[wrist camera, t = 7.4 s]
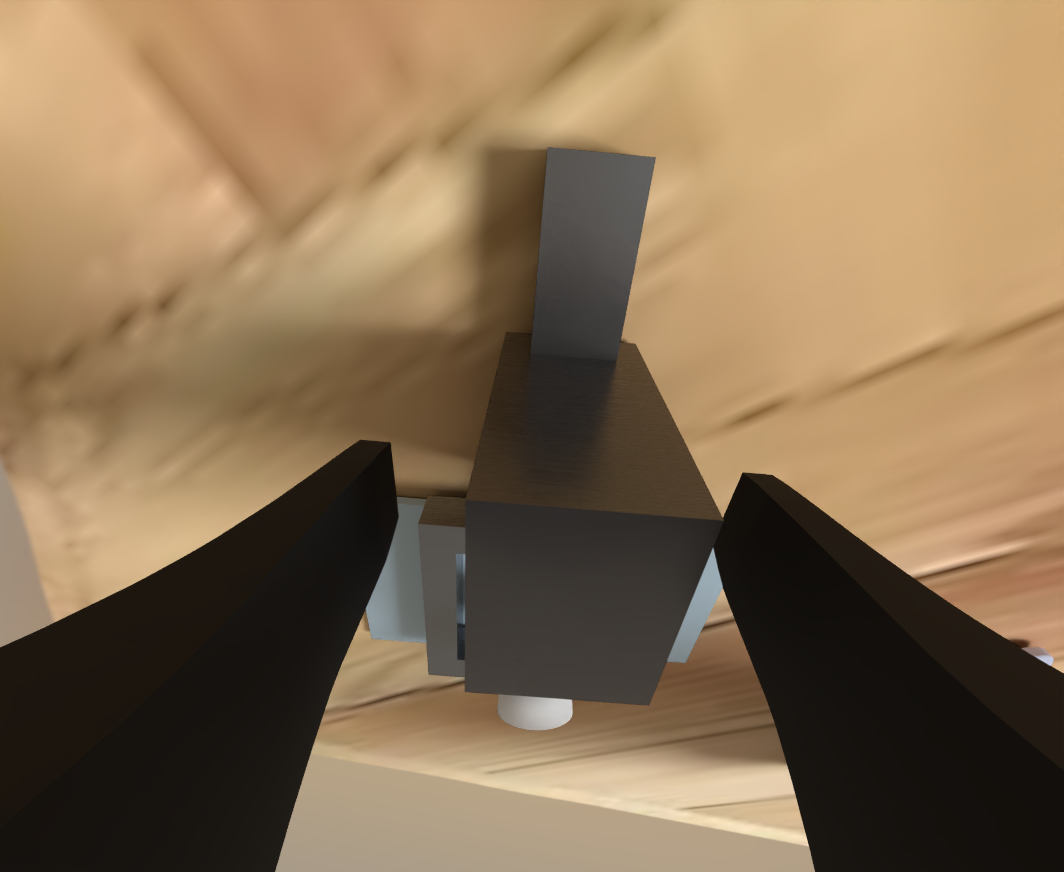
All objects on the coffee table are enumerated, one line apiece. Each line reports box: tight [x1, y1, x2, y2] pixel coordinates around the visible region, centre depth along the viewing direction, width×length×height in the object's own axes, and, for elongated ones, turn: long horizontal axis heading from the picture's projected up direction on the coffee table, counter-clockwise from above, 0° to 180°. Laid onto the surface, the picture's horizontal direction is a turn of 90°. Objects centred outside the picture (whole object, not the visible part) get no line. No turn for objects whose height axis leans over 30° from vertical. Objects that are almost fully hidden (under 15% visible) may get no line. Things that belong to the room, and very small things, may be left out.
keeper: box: [366, 497, 723, 730], centre depth 14 cm, size 7×12×4 cm, turn 85°
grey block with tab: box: [418, 147, 724, 705], centre depth 10 cm, size 16×7×6 cm, turn 175°
